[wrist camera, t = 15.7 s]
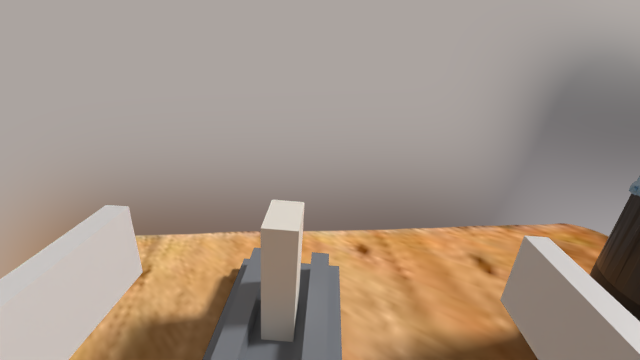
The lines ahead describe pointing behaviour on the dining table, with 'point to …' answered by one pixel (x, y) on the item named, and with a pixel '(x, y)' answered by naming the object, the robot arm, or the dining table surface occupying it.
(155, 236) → the dining table surface
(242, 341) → the rack
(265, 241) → the white rectangular block
